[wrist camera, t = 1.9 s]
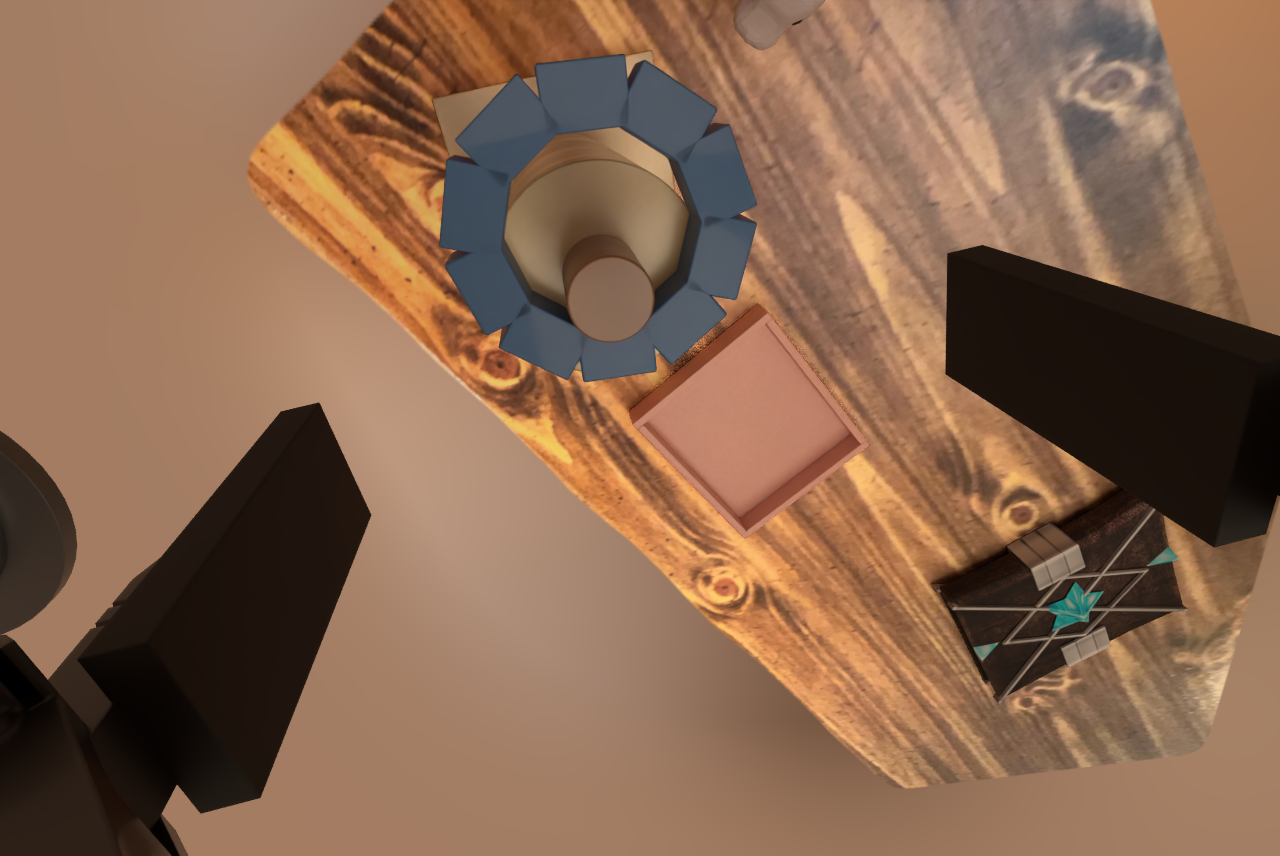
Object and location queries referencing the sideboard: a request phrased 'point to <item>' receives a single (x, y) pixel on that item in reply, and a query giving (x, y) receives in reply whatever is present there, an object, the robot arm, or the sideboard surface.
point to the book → (1065, 593)
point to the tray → (749, 423)
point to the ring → (588, 103)
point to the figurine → (770, 19)
